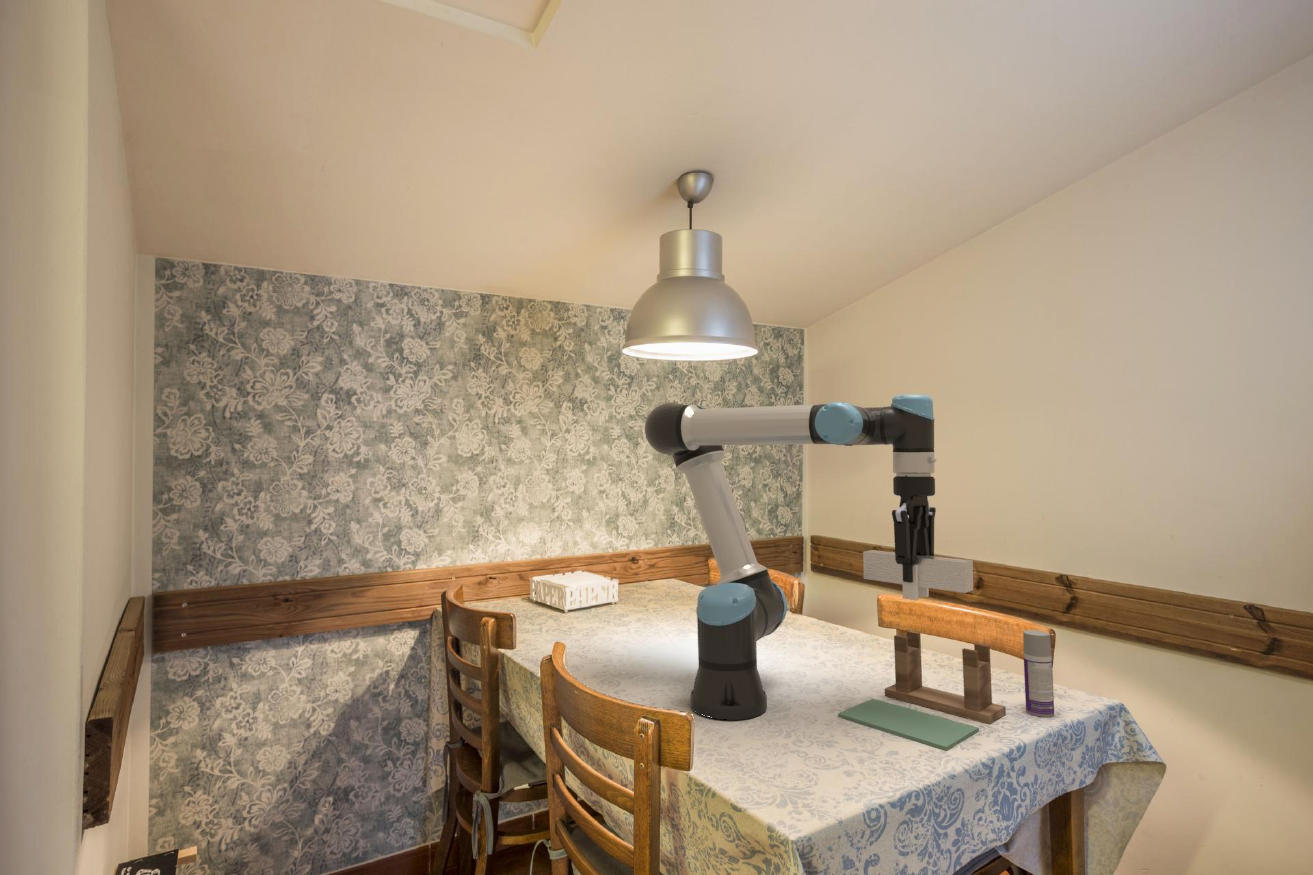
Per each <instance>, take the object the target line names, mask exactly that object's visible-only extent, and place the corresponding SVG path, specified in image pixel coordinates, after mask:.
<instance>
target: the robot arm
mask: <svg viewBox="0 0 1313 875" xmlns="http://www.w3.org/2000/svg"><path fill="white" fill-rule="evenodd" d="M933 404H934V403H933V398H932V397H930V396H929V395H926V394H904V395H901V394H900V395H895V396H893V398H892V399H891V403H890V405H889V406H883V407H881V406H880V407H877V406H876V407H873V406H872V407H861V406H857V405H853V404H851V403H848V402H845V401H833V402H829V403H823V404H798V405H796V404H795V405H773V406H771V405H769V406H751V407H750V406H748V407H747V406H746V407H745V406H744V407H728V408H727V407H724V408H723V407H722V408H706V407H704V406H701V405H695V404H682V403H676V402H666V403H662V404H659V405H657V406H656V407H655V408H654V409H652V410H651V411H650V412H649V413H648V416H647V417H646V420H645V424H644V434H645V438H646V441H647V443H648V444H649V445H650V447H651V448H653V450H655V451H656V452H658V453H660V454H663V455H665V456H672V459H673V461H674V465H675V468H676V470H677V472H678V471H679V472H680V473H682V474H684V475H685V477H686V479H687V483H688V485H689V489H690V491H691V494H692V498H693V500H694V502H695V506H696V508H697V512H698V513H699V516H700V519H701V522H702V526H703V528H704V531H705V534H706V537H707V539H708V542H709V545H710V548H711V551H712V554H713V556H714V559H715V563H716V564H717V569H718V571H719V574H720V576H719V580H718V582H717V583H716V584H712V585H710V586H707V587H705V588H703V589H702V590H701V591H700V592H699V593H698V595H697V604H696V605H697V606H696V610H695V612H696V618H697V619H696V622H697V651H698V652H697V654H698V655H697V656H698V669H697V671H696V675H695V678H694V684H693V689H692V690H691V691H690V692H691V693H690V708H691V710H692V709H693V710H694V711H696V712H697V713H699V714H703V715H705V716H710V717H712V718H711V719H713V718H717V719H716V720H720V719H727V720H726V721H739V720H740V721H741V720H746V719H752V718H755V717H759V716H760V715H762V714H764V713H765V712H766V711H767V710H768V698H767V697H768V696H767V693H766V691H765V690H764V687H763V683H762V678H761V677H760V673H759V669H758V663H757V662H758V654H757V653H758V652H757V651H758V650H757V649H758V648H757V642H758V641H760V639H762V638H764V637H766V636H770V635H771V634H773V633H774V632H775V631H777V629H778V628H779V627H781V625H782V623H783V622H784V621H785V618H786V615H787V612H788V603H787V602H788V601H787V596H786V595H785V592H784V591H783V589H782V587H781V586H779V584H777V583H776V582H774V581H773V580H772V579H771V575H770V573H769V570H768V568H767V566H764V565H762V564H761V563H759V562H758V560H757V557H756V555H755V552H754V549H753V546H752V544H751V541H750V538H749V535H748V533H747V530H746V528H745V525H744V522H743V519H742V516H741V513H740V510H739V507H738V505H737V502H736V500H735V497H734V494H733V491H732V488H731V486H730V483H729V480H728V478H727V475H726V472H725V469H724V466H723V464H722V459H723V457H724V455H725V450H724V447H723V446H752V445H753V446H755V445H756V446H760V445H761V446H764V445H765V446H769V445H771V446H772V445H775V446H776V445H782V446H783V445H836V446H844V447H848V446H849V447H852V446H877V445H886V446H887V445H892V473H893V474H896V475H895V476H893V479H892V480H893V481H892V482H893V486H892V487H893V488H892V489H893V491H892V492H893V494H894V496H898V497H900V500H899V505H898V506H899V508H898V509H893V510H892V511H891V516H892V521H893V534H894V552H895V560H896V562H897V564H902V582H903V584H902V599H904V600H910V601H915V602H916V601H919V597H923V598H928V597H930V596H929V595H930V593H929V591H930V590H929V589H930V588H926V587H919V586H918V565H915V557H916V555H925V556H934V557H935V518H936V512H937V510H936V509H937V508H936V507H934V506H930V504H929V500H928V497H933V496H935V494H936V478H934V476H932V474H934V473H935V463H936V462H937V458H936V457H935V417H934V405H933ZM693 710H692V711H693ZM694 711H693V712H694ZM696 712H695V713H696ZM697 713H696V714H697ZM699 714H698V715H699ZM705 716H704V717H705Z"/></svg>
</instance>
